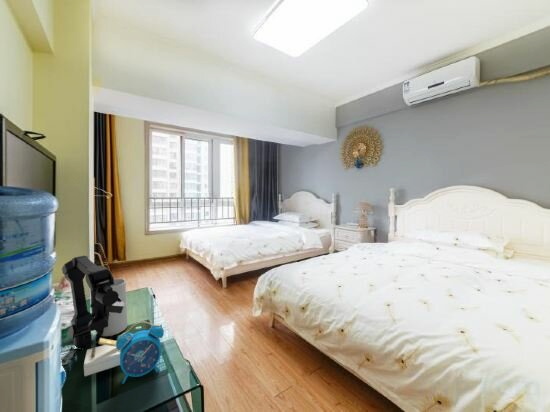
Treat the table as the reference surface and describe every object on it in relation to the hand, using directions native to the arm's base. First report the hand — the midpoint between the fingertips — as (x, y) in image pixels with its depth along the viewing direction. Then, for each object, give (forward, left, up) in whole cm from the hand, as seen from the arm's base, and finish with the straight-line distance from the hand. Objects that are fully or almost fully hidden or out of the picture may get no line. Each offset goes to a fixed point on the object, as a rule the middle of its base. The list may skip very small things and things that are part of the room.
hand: (101, 334), depth 101 cm
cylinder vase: (-14, +22, -13) cm, 30 cm away
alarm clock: (+20, -3, -13) cm, 24 cm away
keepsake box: (+2, +1, -12) cm, 13 cm away
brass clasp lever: (+2, +2, -5) cm, 6 cm away
